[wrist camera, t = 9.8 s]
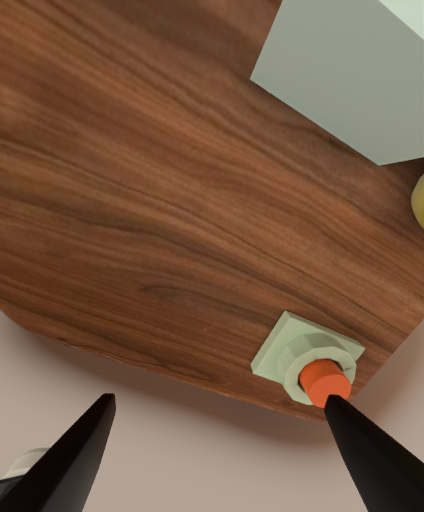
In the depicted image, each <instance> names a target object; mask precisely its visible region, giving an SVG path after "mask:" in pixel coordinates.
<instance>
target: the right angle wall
mask: <svg viewBox="0 0 424 512" xmlns="http://www.w3.org/2000/svg"><path fill="white" fill-rule="evenodd" d="M250 80H252V81H253V82H254V83H256V84H257V85H259V86H260V87H262V88H263V89H265V90H266V91H268V92H269V93H271V94H272V95H274V96H275V97H277V98H278V99H280V100H281V101H283V102H284V103H286V104H287V105H289V106H290V107H292V108H293V109H295V110H296V111H298V112H299V113H301V114H302V115H304V116H305V117H307V118H308V119H310V120H311V121H313V122H314V123H316V124H317V125H319V126H320V127H322V128H323V129H325V130H326V131H328V132H329V133H331V134H332V135H334V136H335V137H337V138H338V139H340V140H341V141H343V142H344V143H346V144H347V145H349V146H350V147H351V148H353V149H354V150H356V151H357V152H359V153H360V154H362V155H363V156H365V157H366V158H368V159H369V160H371V161H372V162H374V163H375V164H377V165H378V166H380V165H385V164H391V163H396V162H401V161H406V160H412V159H417V158H422V157H424V0H283V1H282V3H281V6H280V8H279V11H278V13H277V15H276V18H275V20H274V23H273V25H272V27H271V30H270V32H269V34H268V37H267V39H266V42H265V44H264V46H263V49H262V51H261V54H260V56H259V58H258V61H257V63H256V66H255V68H254V70H253V73H252V75H251V77H250Z"/></svg>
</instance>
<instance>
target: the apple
mask: <svg viewBox="0 0 424 512" xmlns="http://www.w3.org/2000/svg"><path fill="white" fill-rule="evenodd" d="M411 206H412V209H413V212H414V214H415V217H416V219H417V221H418V222H419V224H420V225H421V227H422V228H423V229H424V174H423V175H422V176H421V177H420V178H419V180H418V183H417V185H416V187H415V189H414V190H413V193H412V196H411Z"/></svg>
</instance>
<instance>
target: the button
mask: <svg viewBox="0 0 424 512" xmlns="http://www.w3.org/2000/svg"><path fill="white" fill-rule="evenodd" d="M299 380H300V383H301V385H302V386H303V388H304V390H305V392H306V394H307V395H308V397H309V399H310V401H311V402H312V403H313V404H314V405H316V406H318V407H322V408H324V407H325V403H326V400H327V397H328V395H330V394H337V395H340V396H341V397H343V398H344V399H346V398H347V397H348V396H349V394H350V392H351V383H350V381H349V379H348V378H347V377H346V376H345V374H344V373H343V372H342V371H341V370H340V368H339V367H338V366H337V365H336V364H335V363H334V362H333V361H332V360H330V359H326V358H323V359H316V360H314V361H312V362H310V363H309V364H307V365H305V366H304V368H303V369H302V370H301V372H300V375H299Z"/></svg>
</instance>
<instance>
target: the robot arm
mask: <svg viewBox="0 0 424 512" xmlns="http://www.w3.org/2000/svg"><path fill="white" fill-rule="evenodd" d="M115 412H116V403H115V395H114V394H113V393H112V394H111V393H110V394H109V393H105V394H103V395H102V396H101V397H100V398H99V399H98V400H97V401H96V402H95V403H94V404H93V405H92V406H91V407H90V408H89V409H88V410H87V411H86V412H85V413H84V414H83V415H82V416H81V417H80V418H79V419H78V420H77V421H76V422H75V423H74V424H73V425H72V426H71V427H70V428H69V429H68V430H67V431H66V432H65V433H64V435H62V436H61V438H60V439H59V440H58V441H57V442H56V443H55V444H54V445H53V446H52V447H51V448H50V449H49V450H48V451H47V452H46V453H45V454H44V455H43V456H42V457H41V458H40V459H39V460H38V461H37V462H36V463H35V464H34V465H33V466H32V467H31V468H30V469H29V470H28V471H27V472H26V473H25V474H23V475H19V476H15V477H10V478H6V479H2V480H0V512H82V510H83V508H84V505H85V502H86V500H87V497H88V495H89V492H90V490H91V487H92V484H93V482H94V479H95V477H96V474H97V471H98V469H99V466H100V463H101V459H102V456H103V452H104V450H105V446H106V443H107V439H108V436H109V433H110V430H111V426H112V423H113V420H114V416H115ZM324 413H325V416H326V418H327V421H328V423H329V426H330V428H331V431H332V433H333V435H334V438H335V441H336V443H337V446H338V448H339V451H340V453H341V455H342V458H343V460H344V462H345V465H346V466H347V469H348V471H349V473H350V475H351V477H352V479H353V481H354V483H355V485H356V487H357V489H358V491H359V494H360V495H361V498H362V500H363V502H364V504H365V506H366V508H367V510H368V512H424V463H423V462H422V461H421V460H419V459H418V458H417V457H416V456H414V455H413V454H412V453H411V452H409V451H408V450H407V449H406V448H404V447H403V446H402V445H401V444H399V443H398V442H397V441H396V440H394V439H393V438H392V437H391V436H390V435H388V434H387V433H386V432H385V431H383V430H382V429H381V428H380V427H378V426H377V425H376V424H375V423H373V422H372V421H371V420H369V419H368V418H367V417H366V416H365V415H364V414H362V413H361V412H360V411H358V410H357V409H356V408H355V407H354V406H352V405H351V404H350V403H349V402H347V401H346V400H345V399H344V398H343V397H341V396H340V395H337V394H330V395H328V397H327V400H326V403H325V407H324Z"/></svg>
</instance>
